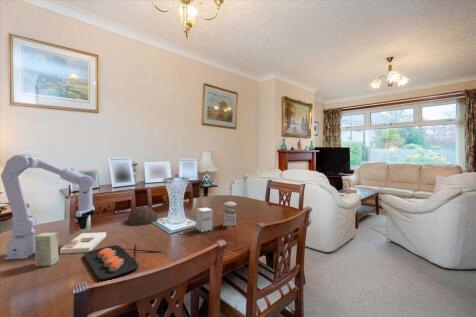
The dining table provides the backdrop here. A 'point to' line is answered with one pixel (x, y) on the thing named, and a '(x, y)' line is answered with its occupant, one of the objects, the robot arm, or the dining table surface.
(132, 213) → the decorative dome
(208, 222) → the supplement box
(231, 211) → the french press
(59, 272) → the dining table surface
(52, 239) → the skincare box
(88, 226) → the peg
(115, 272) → the sushi plate
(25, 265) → the dining table surface
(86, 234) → the hole board
